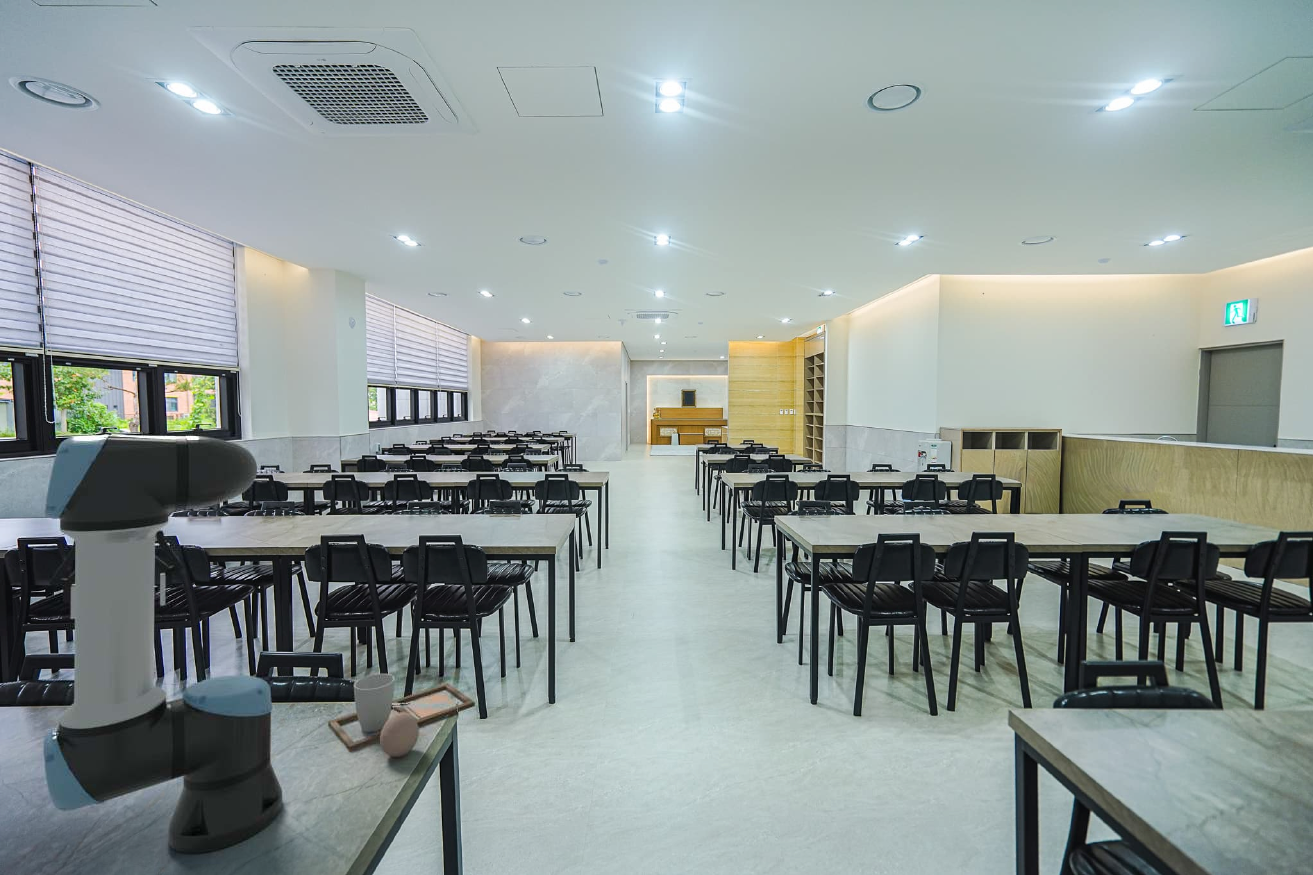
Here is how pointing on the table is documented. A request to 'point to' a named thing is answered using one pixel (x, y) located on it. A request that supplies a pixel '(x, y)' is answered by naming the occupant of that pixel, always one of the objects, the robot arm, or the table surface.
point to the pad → (426, 712)
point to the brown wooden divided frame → (369, 740)
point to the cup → (374, 700)
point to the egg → (399, 735)
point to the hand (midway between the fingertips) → (120, 610)
